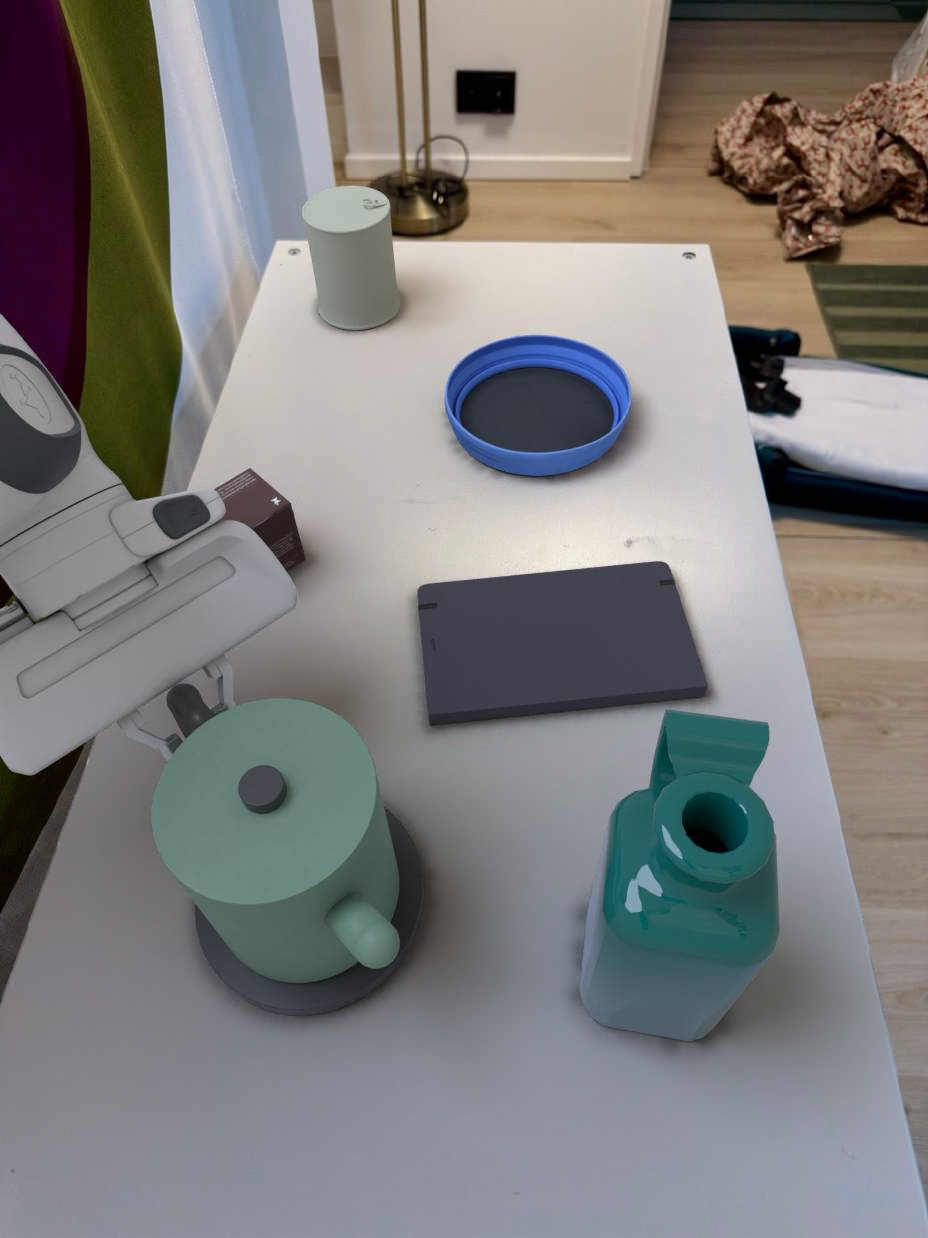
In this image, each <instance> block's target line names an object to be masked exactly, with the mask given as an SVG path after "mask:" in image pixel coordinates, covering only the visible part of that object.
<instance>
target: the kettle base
mask: <svg viewBox="0 0 928 1238" xmlns="http://www.w3.org/2000/svg"><path fill="white" fill-rule="evenodd" d="M384 809H385V814H386V818H387V822H388V827H389V831H390V835H391V840H392V844H393V848H394V853H395V857H396V861H397V866H398V870H399V896H398V901H397V906H396V909H395V912H394V915H393V918H392V920H391V922H390V923H391V924H392V925H393V926H394V928H395V929H396V930H397V932H398V935H399V939H400V947H399V951H398V954H397V956H396V957H395V959H394V960H393V961H392V962H391V963H390V964H388V965H387V966H385V967H383V968H377V969H373V968H369V967H366V966H364V965H363V964H361V963H360V962H358V963H356V964H355V965H354V966H352V967H351V968H349V969H347V970H345V971H343V972H342V973H340V974H337V975H335V976H332V977H330V978H327V979H323V980H319V981H315V982H307V983H288V982H281V981H277V980H273V979H270V978H267V977H264V976H262V975H260V974H258V973H256V972H254V971H253V970H251V969H250V968H248V967H247V966H246V965H245V964H243V963H242V962H241V961H240V960H239V959H238V958H237V957H236V955H235V954H234V953H233V952H232V951H231V949H230V948H229V947H228V945H227V944H226V943H225V941H224V940H223V939H222V938H221V936H220V935H219V934H218V932H217V931H216V930H215V928H214V927H213V926H212V925H211V923H210V922H209V921H208V919H207V918H206V917H205V915H204V914H203V913H202V912H201V910H200V909H199V908H198V906H197V905H196V904H195V903H194V919H195V920H194V921H195V927H196V928H195V929H196V933H197V938H198V942H199V944H200V947H201V950H202V953H203V955H204V956H205V958H206V960H207V963H208V964H209V966H210V967H211V968H212V970H213V971H214V972H215V974H216V975H217V976H218V978H219V979H221V981H222V982H223V983H224V984H225V986H227V987H228V989H230V990H231V991H232V992H233V994H235V995H236V996H238V997H239V998H241V999H242V1000H244V1001H246V1002H247V1003H248V1004H250V1005H252V1006H255V1007H257V1008H258V1009H260V1010H264V1011H267V1012H271V1013H274V1014H279V1015H285V1016H295V1017H296V1016H297V1017H298V1016H299V1017H302V1016H305V1017H306V1016H314V1015H315V1016H316V1015H323V1014H326V1013H330V1012H334V1011H336V1010H339V1009H343V1008H344V1007H347V1006H349V1005H351V1004H354V1003H355V1002H357V1001H359V1000H361V999H362V998H364V997H366V996H368V995H369V994H371V993H372V992H373V991H374V990H376V989H378V987H380V986H381V985H382V984H383V983H384V982H385V981H386V980H387V979H388V978H389V977H391V975H393V973H394V972H395V971H396V969H397V968H398V966H400V964H401V963H402V962H403V960H404V958H405V957H406V955H407V954H408V952H409V951H410V948H411V947H412V944H413V942H414V940H415V938H416V935H417V934H418V929H419V926H420V924H421V921H422V920H421V919H422V915H423V909H424V897H425V888H424V878H423V877H424V876H423V871H422V865H421V862H420V858H419V857H420V856H419V854H418V851H417V849H416V846H415V843H414V841H413V840H412V837H411V836H410V834H409V833H408V831H407V829H406V827H405V826H404V825H403V824H402V822H401V821H400V820H399V819H398V817H396V816H395V815H394V814H393V813H392V812H391V811H390V810H389V809H388V808H387V807H385V806H384Z"/></svg>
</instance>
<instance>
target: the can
mask: <svg viewBox="0 0 928 1238" xmlns="http://www.w3.org/2000/svg"><path fill="white" fill-rule="evenodd" d="M301 215H302V216H301V217H302V219H303V223H304V228H305V233H306V238H307V243H308V244H307V245H308V248H309V254H310V259H311V265H312V271H313V277H314V282H315V288H316V295H317V298H318V299H317V301H318V306H317V307H318V313H319V316H320V317H321V319H322V320H323V321H324V322H325V323H326V324H328V325H330V326H332V327H334V328H338V329H341V330H345V331H363V330H364V331H366V330H369V329H370V330H371V329H374V328H376V327H380V326H382V325H384V324H386V323H387V322H389V321H390V320H392V319H394V318H395V316H396V315H397V314H398V312H399V310H400V307H401V299H400V294H399V290H398V280H397V272H396V263H395V262H396V261H395V252H394V243H393V241H394V240H393V229H392V218H391V203H390V200H389V198H388V197H387V196H386V195H385V193H383V192H381V191H379V190H377V189H375V188H372V187H368V186H363V185H342V186H341V185H340V186H335V187H331V188H327V189H324V190H322V191H319V192H317V193H316V194H314V195H312V196H310V197H309V199H307V201H306V202H305V203H304V204H303V206H302V209H301Z"/></svg>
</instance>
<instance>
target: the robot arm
mask: <svg viewBox="0 0 928 1238" xmlns="http://www.w3.org/2000/svg"><path fill="white" fill-rule="evenodd" d="M214 489H215V488H211V487H200V488H195V489H190V490H185V491H179V492H175V493H170V494H162V495H157V496H154V497H149V498H144V499H140V500H136V498H133V496H132V495H131V493H130V492H129V490H128V489H127V487H126V486H125V484H124V483H123V481H122V480H121V479H120V477H119V476H118V475H117V474H116V473H115V472H114V471H112V469H110V468H109V467H108V466H107V465H106V464H105V463H104V462H103V461H102V460H101V459H100V457H99V456H98V454H97V453H96V451H95V449H94V447H93V446H92V444H91V440H90V439H89V436H88V432H87V428H86V426H85V424H84V421H83V419H82V417H81V416H80V414H79V413H78V411H77V409H76V408H75V407H74V405H73V404H72V402H71V401H70V399H69V398H68V395H66V393H65V392H64V390H63V389H62V387H61V386H60V384H59V383H58V382H57V381H56V379H55V377H54V376H53V374H52V373H51V372H50V371H49V370H48V368H47V367H46V366H45V364H44V363H43V362H42V360H41V359H40V357H38V355H37V354H36V353H35V352H34V350H33V349H32V348H31V347H30V345H29V344H28V343H27V342H26V341H25V340H24V339H23V337H22V336H21V335H20V334H19V332H18V331H17V330H16V329H15V328H14V327H13V325H12V324H11V323H10V322H9V321H8V320H7V319H6V318H5V317H4V315H2V313H0V576H1V577H2V579H3V580H4V581H5V583H6V584H7V586H8V587H9V589H10V590H11V591H12V592H13V594H14V596H15V597H16V600H13V602H10V603H9V604H7V605H5V606H4V607H2V608H0V757H1V759H2V760H3V763H4V764H5V765H6V766H7V768H8V770H10V771H11V772H13V773H16V774H21V775H25V776H35V775H36V774H38V773H40V772H41V771H43V770H44V769H46V768H48V767H49V766H50V765H52V764H54V763H56V762H57V761H59V760H60V759H62V758H63V757H65V756H67V755H68V754H70V753H71V752H72V751H75V750H76V749H77V748H79V747H80V746H82V745H84V744H85V743H87V742H88V741H90V740H92V739H93V738H95V737H96V736H98V735H100V734H101V733H102V732H104V731H105V730H108V729H109V728H110V727H112V726H114V725H115V724H117V725H118V726H119V728H120V729H121V731H122V732H123V733H124V735H125V736H126V737H127V738H129V739H131V740H133V741H136V742H138V743H140V744H143V745H145V746H146V747H149V748H152V749H154V750H156V751H158V752H159V754H160V755H161V757H162V758H163V759H164V761H165V762H166V763H167V762H168V761H169V759H170V758H171V756H172V755H173V753H174V752H175V750H176V749H177V748H178V747H179V746H180V745H181V744H182V742H183V741H184V740H182V738H181V737H180V735H179V734H177V733H176V732H173V733H172V734H170V735H168V736H167V737H165V738H161V737H159V736H158V735H155V734H153V733H151V732H148V731H146V730H144V729H142V728H143V727H145V726H146V725H147V721H146V720H145V718H144V717H143V715H142V713H141V712H140V710H139V709H140V708H142V707H143V706H145V705H146V704H148V703H150V702H151V701H152V700H154V699H156V698H158V696H161V695H162V694H164V693H165V692H168V691H169V690H170V689H171V688H172V687H173V686H175V685H177V684H179V683H182V681H184V680H186V679H188V678H189V677H190V676H192V675H194V674H195V673H197V672H198V671H200V670H203V672H204V674H205V676H207V678H210V679H213V680H216V686H217V701H218V703H217V704H215V705H214V706H213V707H211V708H209V709H210V710H211V711H212V712H213V714H214V715H215V716H217V715H218V714H220V713H222V712H225V711H227V710H229V709H231V708H234V707H237V706H238V705H237V704H236V702H235V701H234V700H235V683H234V682H235V681H234V680H235V677H234V668H233V666H232V664H231V663H230V662H229V659H228V658H227V657H226V655H225V654H227V653H228V652H230V651H231V650H232V649H234V648H236V647H237V646H239V645H241V644H242V643H244V642H245V641H247V640H248V639H250V638H252V637H253V636H255V635H256V634H258V633H259V632H261V631H262V630H264V629H265V628H268V627H269V626H270V625H272V624H274V623H275V622H276V621H279V620H280V619H281V618H283V617H285V616H286V615H288V614H289V613H291V612H292V611H294V610H295V609H296V607H297V602H298V588H297V585H296V584H295V583H294V581H293V578H292V577H291V576H290V574H289V572H286V570H285V569H284V567H283V566H282V565H281V563H280V562H279V560H278V559H277V558H276V556H275V555H274V554H273V553H272V551H271V550H270V549H269V548H268V546H267V545H266V544H265V543H264V542H263V540H262V539H261V538H260V537H259V536H258V535H257V534H256V533H255V532H254V531H253V530H252V529H251V528H249V527H248V526H246V525H245V524H243V523H241V522H238V521H234V520H224V521H219V520H220V519H221V518H222V517H223V516H224V515H225V512H226V508H225V505H224V502H223V500H222V499H221V497H220V495H219V494H218V493H217V492H216V491H215V490H214ZM217 521H219V522H217ZM27 615H29V616H27ZM32 621H33V622H34V623H33V622H32Z"/></svg>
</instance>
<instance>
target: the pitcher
mask: <svg viewBox="0 0 928 1238" xmlns="http://www.w3.org/2000/svg"><path fill="white" fill-rule="evenodd" d="M769 743H770V725H769V722H766V721H760V720H759V721H758V720H751V719H745V718H738V717H737V718H736V717H730V716H723V715H722V716H721V715H713V714H707V713H700V712H692V711H684V710H677V709H671V708H670V709H669V708H665V710H664V713H663V717H662V720H661V725H660V729H659V734H658V737H657V742H656V745H655V750H654V754H653V760H652V766H651V772H650V778H649V785H648V787H647V788H643V789H637V790H634V791H632V792H630V793H629V794H627V795H626V796H624V797H623V798H622V799H620V800H618V802H617V803H616V805H615V806H614V808H613V809H612V811H611V814H610V815H609V817H608V822H607V825H606V830H605V834H604V839H603V842H602V847H601V851H600V855H599V859H598V863H597V869H596V872H595V877H594V881H593V884H592V890H591V894H590V897H589V902H588V906H587V910H586V911H587V912H586V920H585V928H584V929H585V930H584V940H583V949H582V950H583V951H582V962H581V972H580V984H579V994H580V999H581V1002H582V1006H583V1007H584V1009H585V1010H586V1012H587V1013H588V1014H589V1015H590V1017H591V1018H592V1019H593V1020H594V1021H596V1022H597V1023H599V1024H601V1025H602V1026H604V1027H607V1028H612V1029H617V1030H623V1031H629V1032H634V1033H639V1034H646V1035H651V1036H656V1037H662V1038H667V1039H674V1040H679V1041H685V1042H694V1041H696V1040H700V1039H703V1038H705V1037H706V1036H707V1034H709V1033H710V1032H712V1030H714V1029H715V1027H716V1026H717V1025H718V1023H719V1022H720V1021H721V1019H722V1018H723V1017H724V1016H725V1015H726V1013H727V1012H728V1011H729V1010H730V1008H732V1006H733V1005H734V1004H735V1003H736V1001H737V1000H738V998H739V997H740V996H741V995H742V994H743V993H744V991H745V990H746V989H747V987H749V985H750V984H751V983H752V981H753V980H754V979H755V978H756V976H757V975H758V974H759V973H760V971H761V970H762V969H763V967H765V966H766V964H767V962H769V960H770V959H771V958H772V957H773V955H774V953H775V950H776V948H777V946H778V943H779V941H780V938H781V929H780V899H779V896H780V895H779V869H778V839H777V835H776V832H775V821H774V820H773V817H772V815H771V813H770V811H769V809H768V806H767V805H766V803H765V800H764V799H763V798H762V797H761V796H759V795H758V794H757V793H756V791H755V790H754V789H753V788H752V787H751V783H752V782H753V779H754V776H755V774H756V772H757V771H758V769H759V767H760V766H761V764H762V762H763V761H764V758H765V756H766V753H767V750H768V747H769Z"/></svg>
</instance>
